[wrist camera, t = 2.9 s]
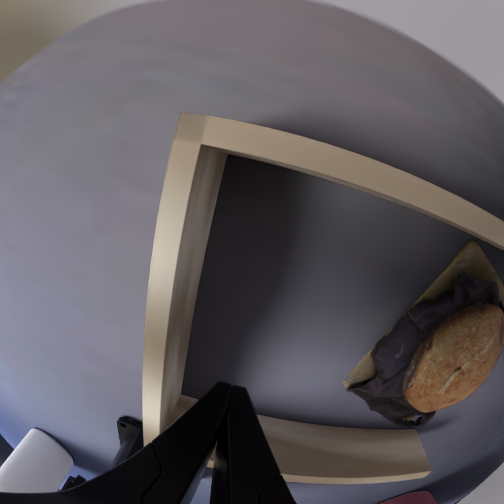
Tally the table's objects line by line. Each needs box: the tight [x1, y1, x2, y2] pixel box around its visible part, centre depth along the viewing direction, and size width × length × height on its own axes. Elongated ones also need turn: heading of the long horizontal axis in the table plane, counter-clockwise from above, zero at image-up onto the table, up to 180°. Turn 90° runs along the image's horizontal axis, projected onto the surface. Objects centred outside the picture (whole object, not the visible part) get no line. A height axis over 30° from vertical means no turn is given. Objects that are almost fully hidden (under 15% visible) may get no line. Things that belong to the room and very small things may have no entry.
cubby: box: [143, 112, 504, 484], centre depth 11 cm, size 15×17×4 cm
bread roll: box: [343, 240, 504, 428], centre depth 11 cm, size 11×8×4 cm
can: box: [0, 429, 74, 493], centre depth 15 cm, size 6×6×12 cm
